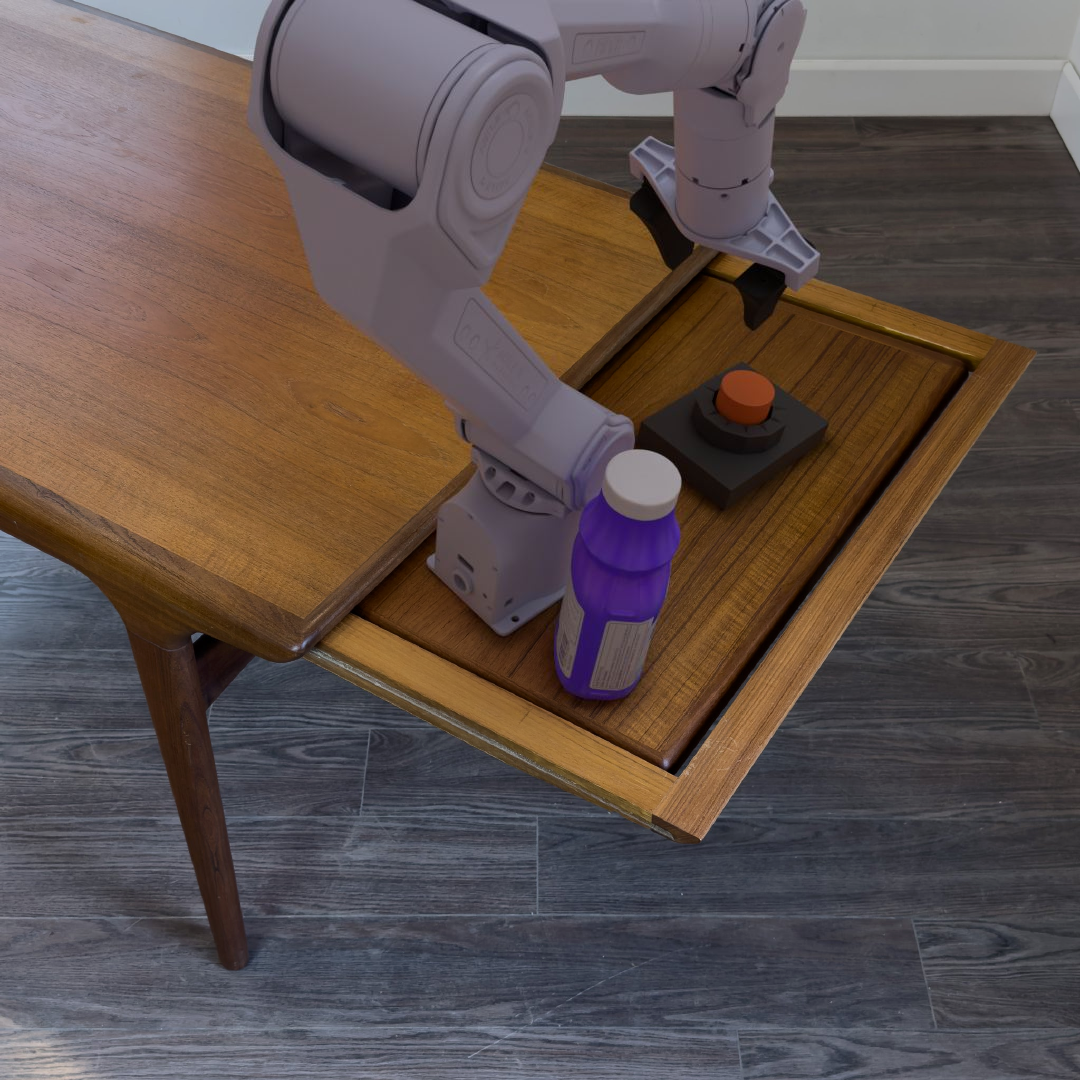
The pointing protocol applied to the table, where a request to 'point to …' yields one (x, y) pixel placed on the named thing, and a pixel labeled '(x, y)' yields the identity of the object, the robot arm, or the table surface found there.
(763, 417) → the push button
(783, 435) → the button base
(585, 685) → the bottle
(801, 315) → the table surface
